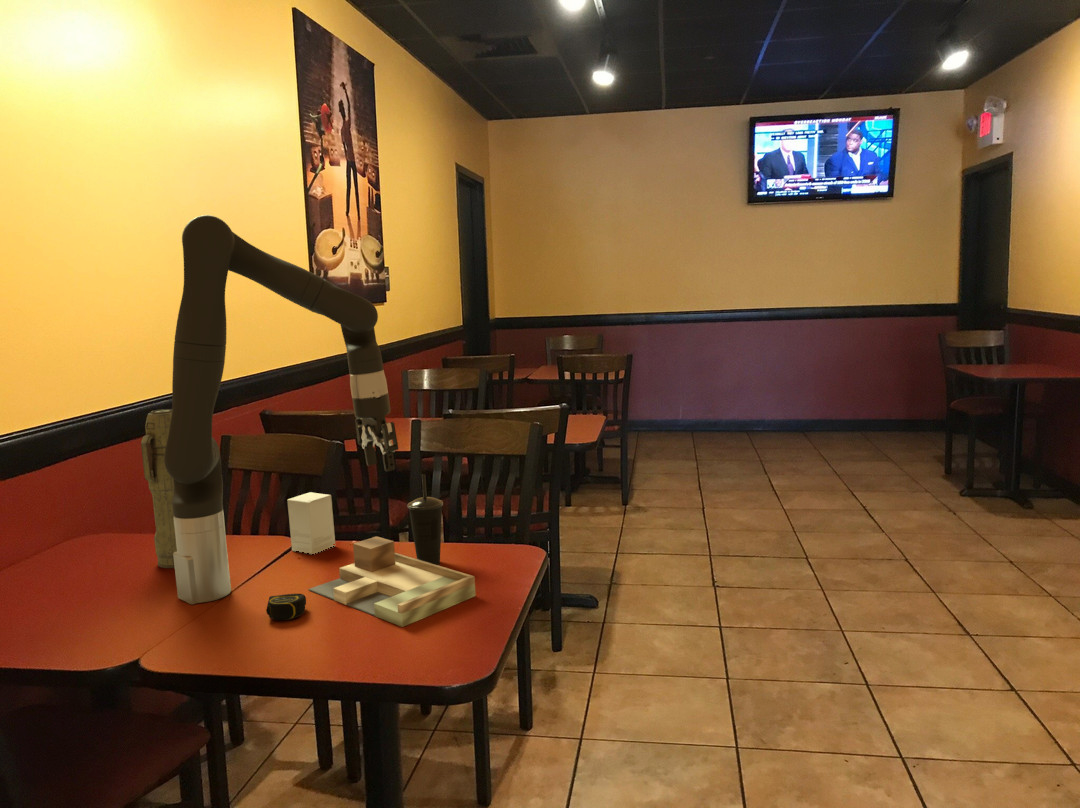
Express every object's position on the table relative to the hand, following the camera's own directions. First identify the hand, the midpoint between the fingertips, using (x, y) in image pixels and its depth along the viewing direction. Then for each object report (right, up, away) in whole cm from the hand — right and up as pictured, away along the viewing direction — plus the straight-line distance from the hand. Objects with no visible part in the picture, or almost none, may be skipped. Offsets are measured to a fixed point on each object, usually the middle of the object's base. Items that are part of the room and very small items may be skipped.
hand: (380, 467), depth 174 cm
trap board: (+4, -24, -12) cm, 27 cm away
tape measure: (-14, -26, -21) cm, 37 cm away
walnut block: (-1, -20, -3) cm, 21 cm away
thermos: (-49, -23, +12) cm, 55 cm away
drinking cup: (+10, -22, +4) cm, 24 cm away
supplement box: (-19, -21, +18) cm, 34 cm away
